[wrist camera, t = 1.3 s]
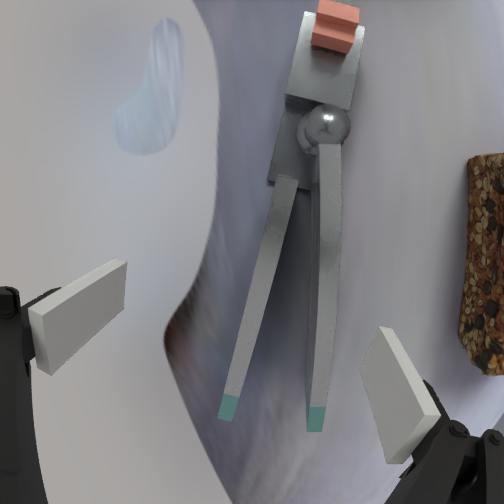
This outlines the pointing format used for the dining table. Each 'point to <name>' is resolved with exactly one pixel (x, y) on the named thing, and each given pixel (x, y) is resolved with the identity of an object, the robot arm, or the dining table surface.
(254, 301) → the base
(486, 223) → the bread
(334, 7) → the tab
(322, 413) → the jaw
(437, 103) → the dining table surface
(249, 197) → the dining table surface
